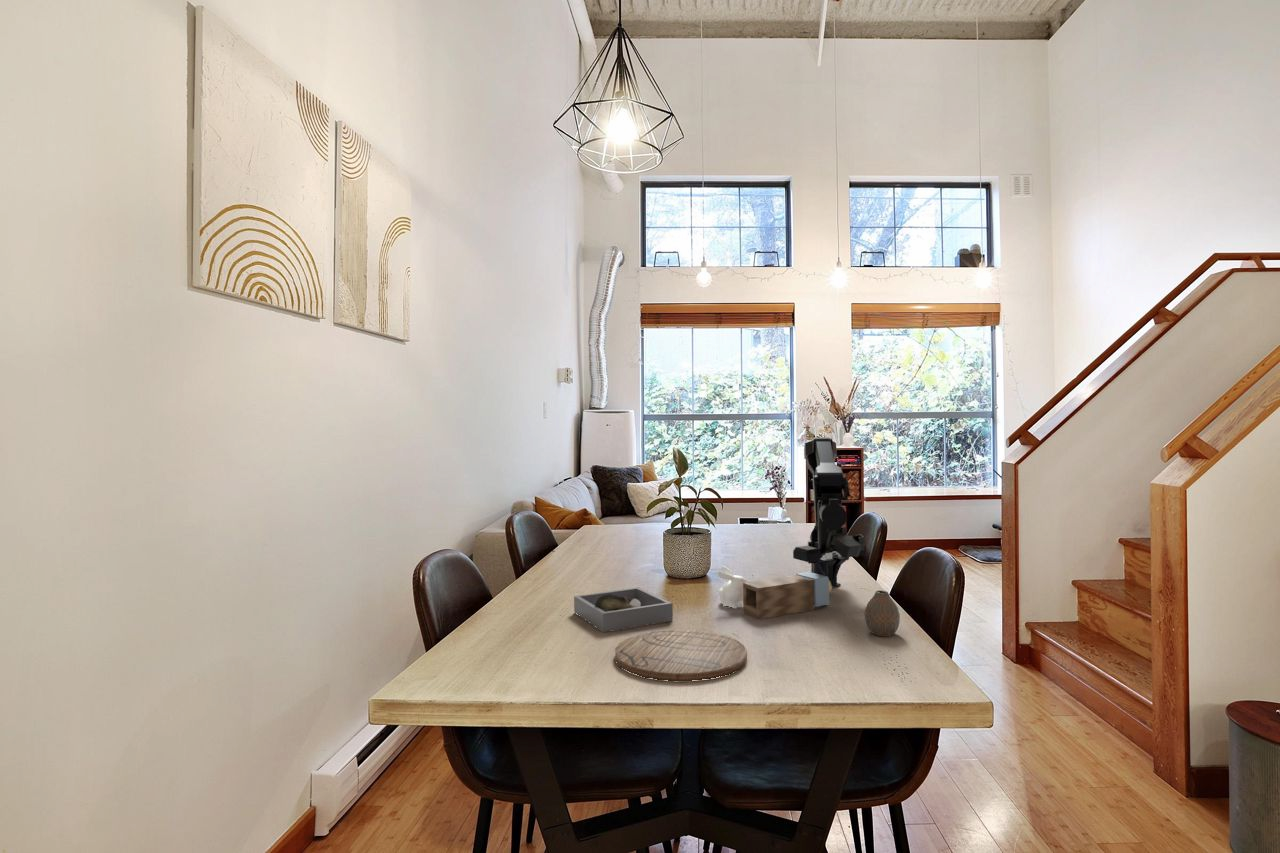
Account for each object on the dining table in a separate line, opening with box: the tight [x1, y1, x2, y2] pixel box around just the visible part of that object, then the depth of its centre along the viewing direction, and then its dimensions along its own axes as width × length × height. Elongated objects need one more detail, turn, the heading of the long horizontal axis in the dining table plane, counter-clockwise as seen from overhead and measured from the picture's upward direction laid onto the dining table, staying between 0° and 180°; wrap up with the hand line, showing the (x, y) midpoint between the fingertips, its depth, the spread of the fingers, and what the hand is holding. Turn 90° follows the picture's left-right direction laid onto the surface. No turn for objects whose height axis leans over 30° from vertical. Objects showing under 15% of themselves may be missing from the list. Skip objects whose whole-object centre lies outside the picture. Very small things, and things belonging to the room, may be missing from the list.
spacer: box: [795, 571, 830, 607], centre depth 167 cm, size 4×7×6 cm, turn 27°
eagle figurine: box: [594, 594, 641, 612], centre depth 156 cm, size 8×7×9 cm
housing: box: [742, 574, 815, 620], centre depth 163 cm, size 16×6×7 cm, turn 117°
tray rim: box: [573, 587, 674, 633], centre depth 160 cm, size 17×17×4 cm
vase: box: [864, 589, 901, 637], centre depth 145 cm, size 7×7×9 cm
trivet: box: [614, 629, 748, 681], centre depth 132 cm, size 25×25×2 cm
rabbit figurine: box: [716, 565, 748, 609], centre depth 168 cm, size 12×8×10 cm, turn 11°
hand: (830, 585), depth 170 cm, fingers closed
